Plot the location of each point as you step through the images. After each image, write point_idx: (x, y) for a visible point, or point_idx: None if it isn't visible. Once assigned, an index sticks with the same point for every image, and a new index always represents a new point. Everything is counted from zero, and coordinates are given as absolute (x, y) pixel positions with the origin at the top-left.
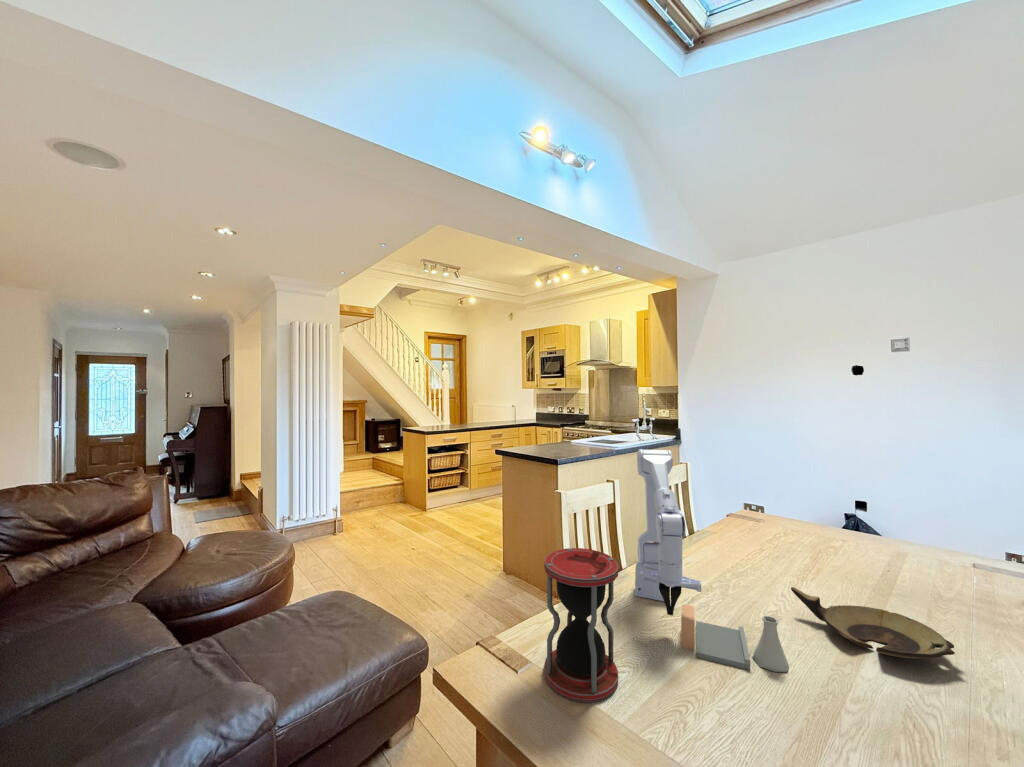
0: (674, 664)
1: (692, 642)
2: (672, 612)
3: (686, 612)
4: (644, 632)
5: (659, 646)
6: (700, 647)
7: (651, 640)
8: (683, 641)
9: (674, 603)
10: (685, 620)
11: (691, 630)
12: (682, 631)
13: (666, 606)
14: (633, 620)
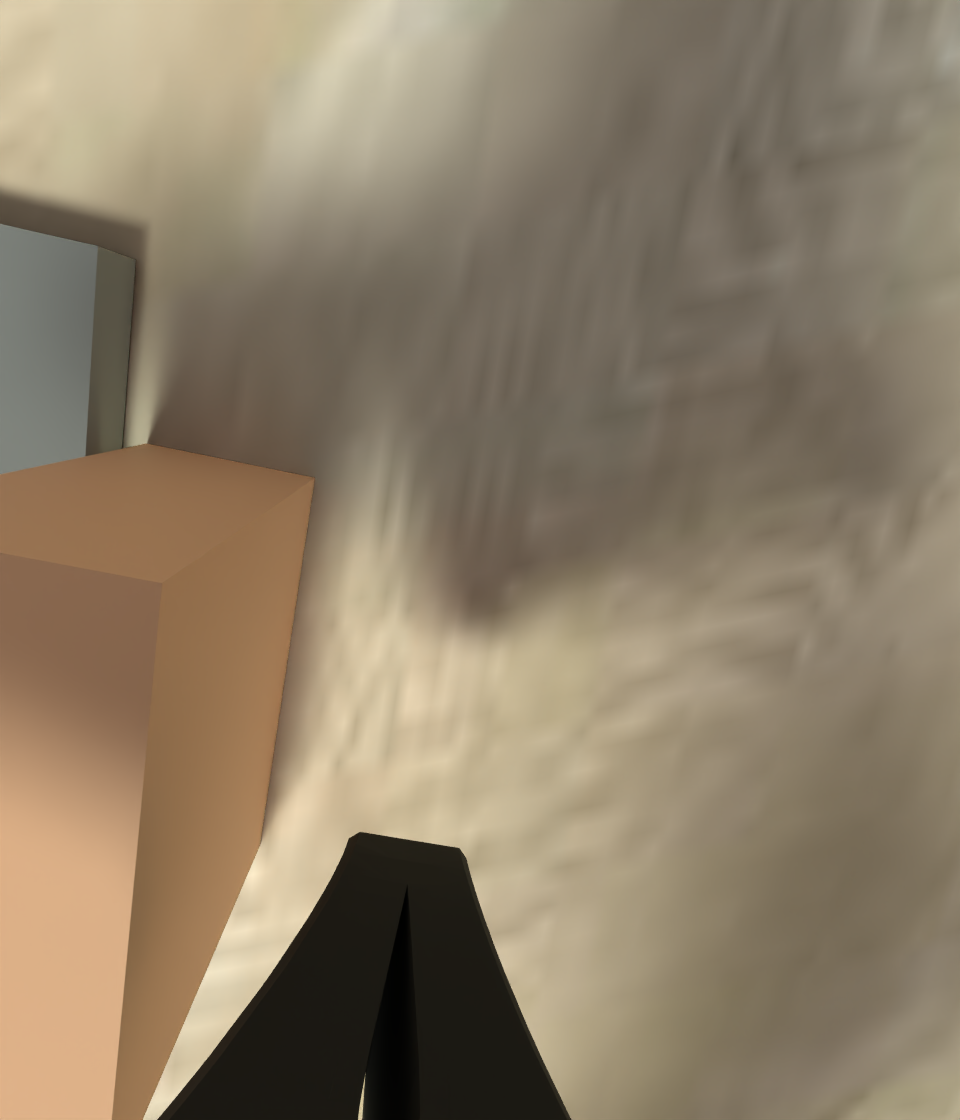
0: (468, 3)
1: (132, 456)
2: (351, 869)
3: (15, 936)
4: (737, 674)
5: (604, 410)
6: (30, 383)
7: (683, 523)
8: (267, 485)
9: (219, 1100)
10: (48, 574)
11: (33, 488)
12: (233, 517)
13: (498, 987)
14: (817, 882)
